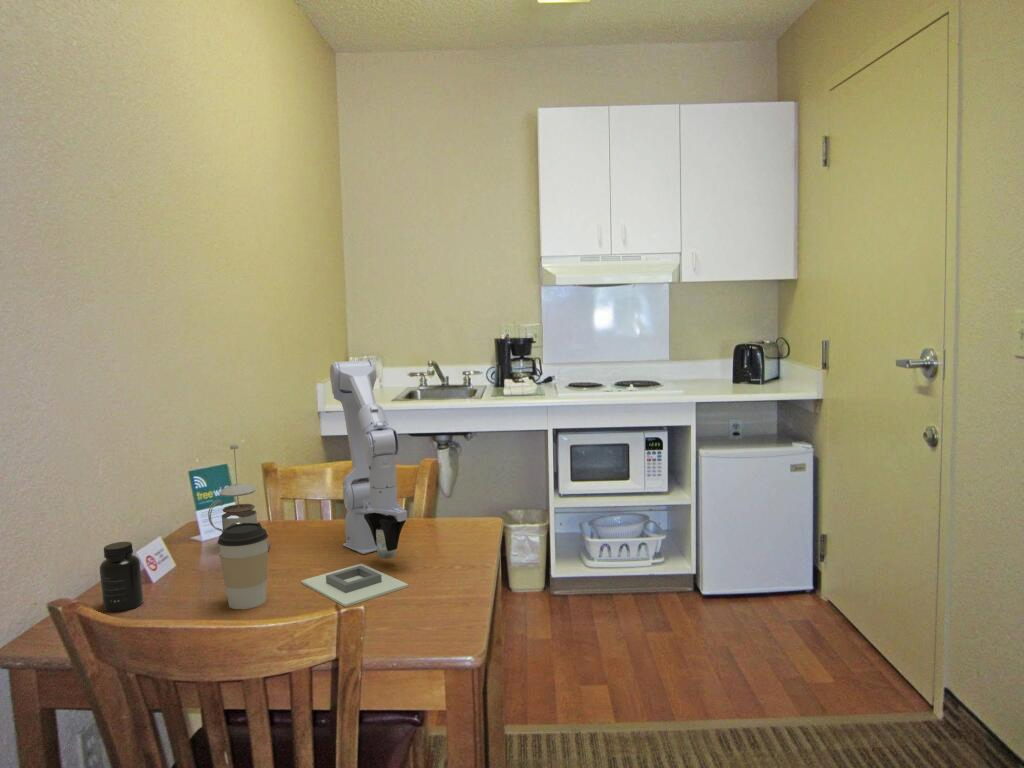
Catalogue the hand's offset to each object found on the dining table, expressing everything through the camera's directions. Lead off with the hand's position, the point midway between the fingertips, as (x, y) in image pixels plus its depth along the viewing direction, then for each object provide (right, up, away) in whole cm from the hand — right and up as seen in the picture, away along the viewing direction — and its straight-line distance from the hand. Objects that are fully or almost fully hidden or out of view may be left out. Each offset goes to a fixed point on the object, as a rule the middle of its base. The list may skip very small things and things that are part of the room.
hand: (386, 547), depth 161 cm
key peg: (0, -2, 0) cm, 2 cm away
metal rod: (-29, -5, +3) cm, 29 cm away
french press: (-38, -4, +16) cm, 41 cm away
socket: (-5, -5, -11) cm, 13 cm away
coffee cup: (-23, -7, -18) cm, 30 cm away
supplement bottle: (-47, -8, -18) cm, 51 cm away
